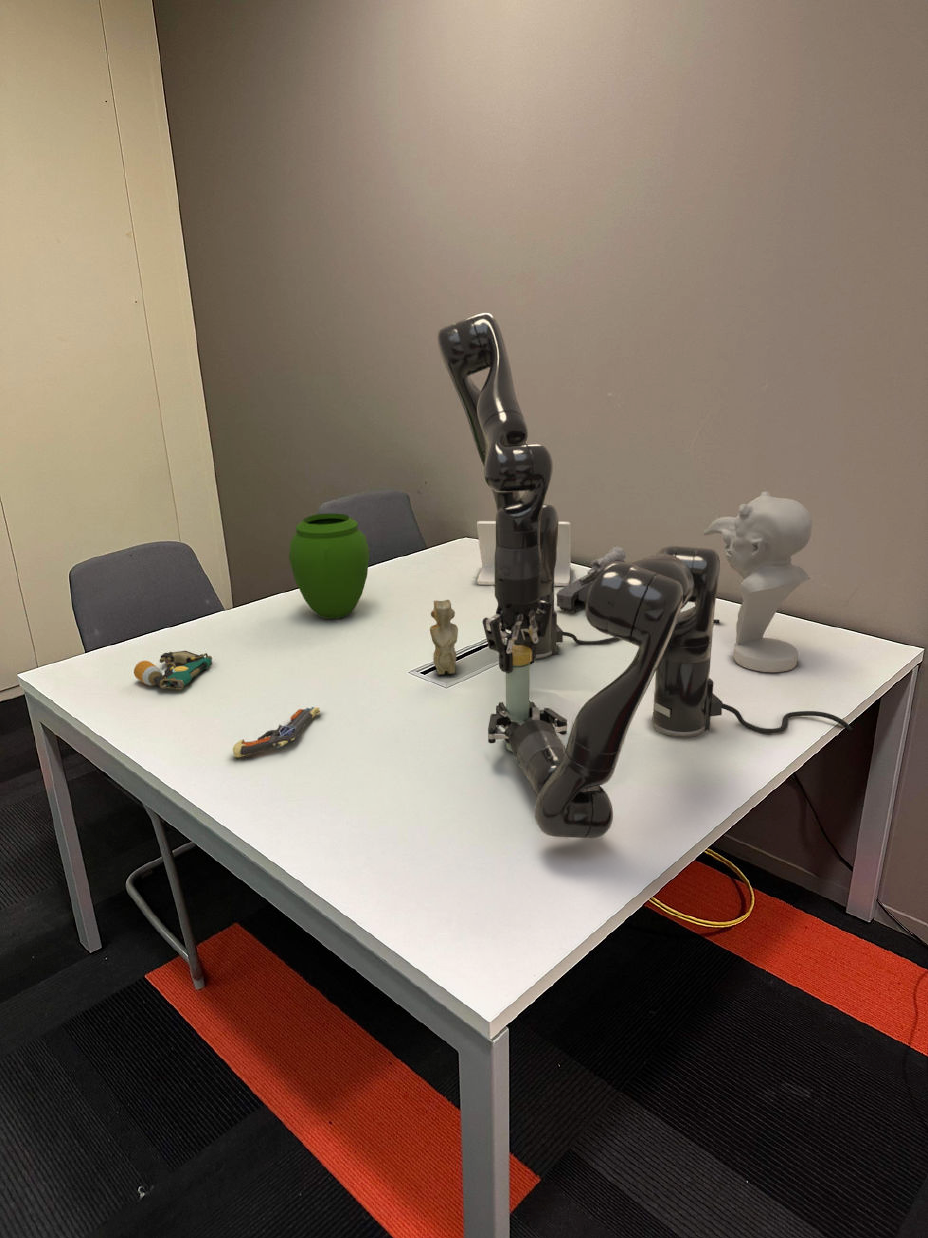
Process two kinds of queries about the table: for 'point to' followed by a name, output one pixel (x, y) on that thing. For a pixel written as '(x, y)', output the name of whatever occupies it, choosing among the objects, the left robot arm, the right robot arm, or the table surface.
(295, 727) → the toy gun
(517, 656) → the lid
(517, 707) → the pale green cylinder
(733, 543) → the bust sculpture
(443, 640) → the sculpture
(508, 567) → the left robot arm
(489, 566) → the tablet stand
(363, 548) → the vase
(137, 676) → the spray gun
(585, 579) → the toy
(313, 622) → the table surface
